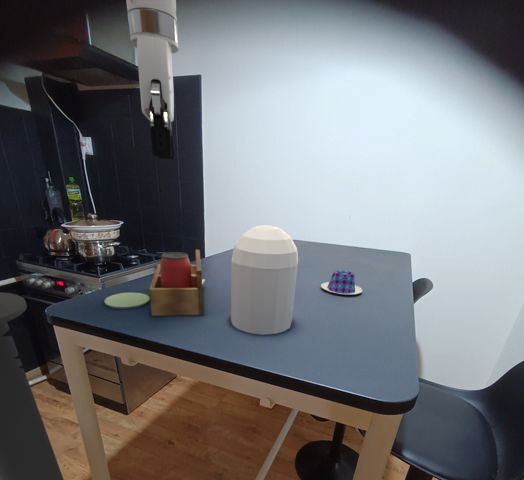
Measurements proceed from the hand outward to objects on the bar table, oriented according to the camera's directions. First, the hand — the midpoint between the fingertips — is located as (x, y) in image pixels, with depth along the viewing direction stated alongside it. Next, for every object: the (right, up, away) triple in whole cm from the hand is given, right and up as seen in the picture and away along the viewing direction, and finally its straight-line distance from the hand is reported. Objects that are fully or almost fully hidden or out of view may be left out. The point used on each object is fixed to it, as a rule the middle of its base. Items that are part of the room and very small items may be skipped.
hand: (164, 157), depth 60 cm
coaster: (-14, -25, +16) cm, 33 cm away
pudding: (+42, -19, +34) cm, 57 cm away
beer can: (-1, -26, +15) cm, 30 cm away
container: (+18, -30, +10) cm, 37 cm away
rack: (-2, -24, +19) cm, 31 cm away
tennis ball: (0, -18, +25) cm, 31 cm away
